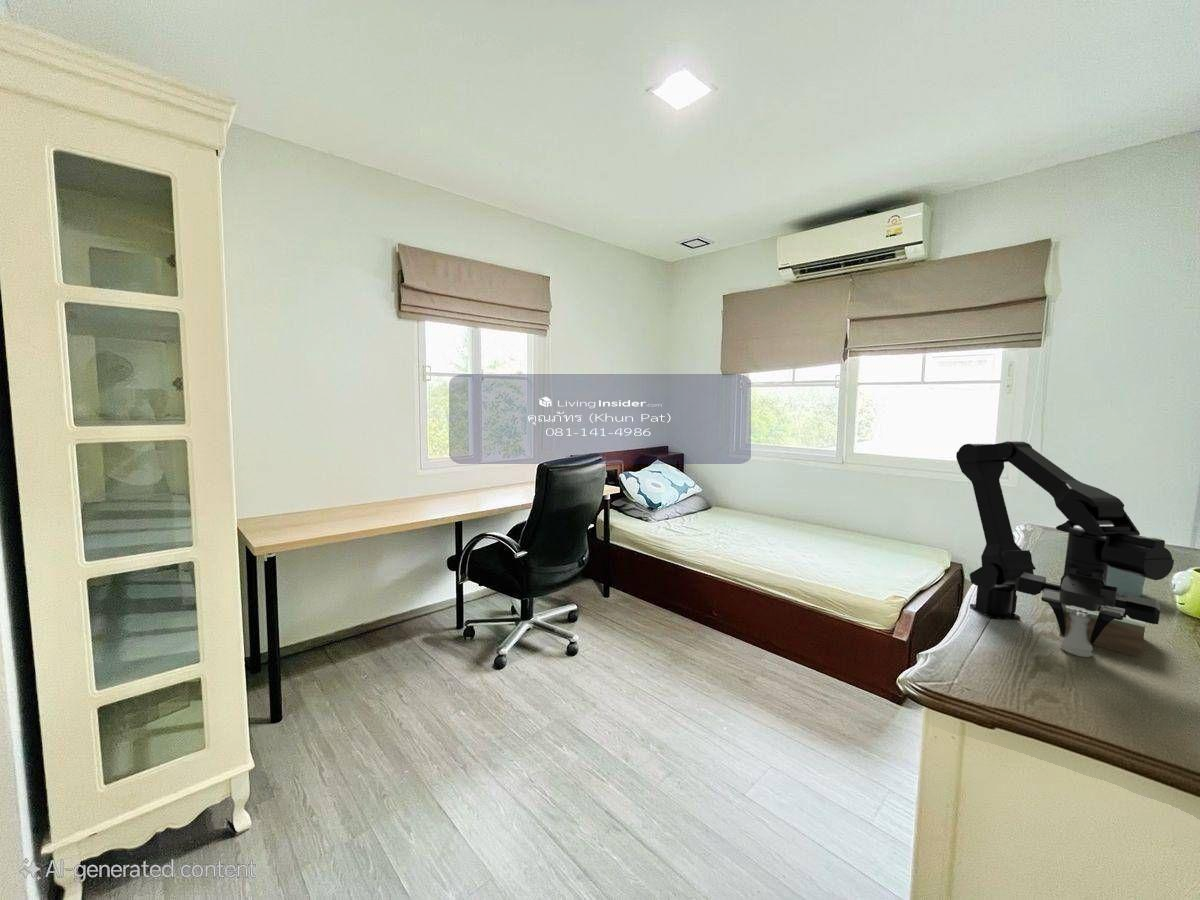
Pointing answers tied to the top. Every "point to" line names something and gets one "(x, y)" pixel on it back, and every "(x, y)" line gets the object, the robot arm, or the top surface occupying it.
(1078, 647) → the rook chess piece
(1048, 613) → the top surface
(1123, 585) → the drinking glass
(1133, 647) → the box
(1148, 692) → the top surface
